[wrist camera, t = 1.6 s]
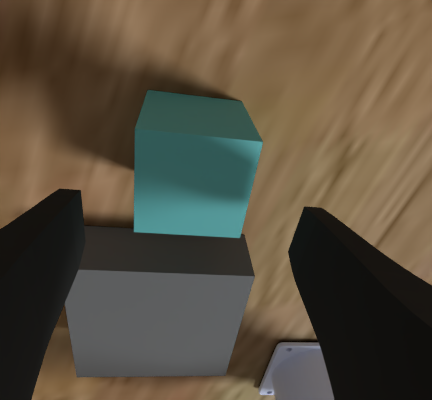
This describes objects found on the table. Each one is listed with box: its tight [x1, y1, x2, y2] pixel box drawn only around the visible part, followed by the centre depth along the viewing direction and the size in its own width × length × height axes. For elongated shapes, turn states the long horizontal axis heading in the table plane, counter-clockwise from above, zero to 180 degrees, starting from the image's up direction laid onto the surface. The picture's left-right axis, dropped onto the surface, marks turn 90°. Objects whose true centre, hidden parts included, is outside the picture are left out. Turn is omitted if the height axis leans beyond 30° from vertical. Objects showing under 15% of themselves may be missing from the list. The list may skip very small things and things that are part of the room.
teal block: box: [134, 90, 263, 238], centre depth 15 cm, size 4×4×5 cm
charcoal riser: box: [65, 226, 255, 377], centre depth 21 cm, size 10×10×4 cm
